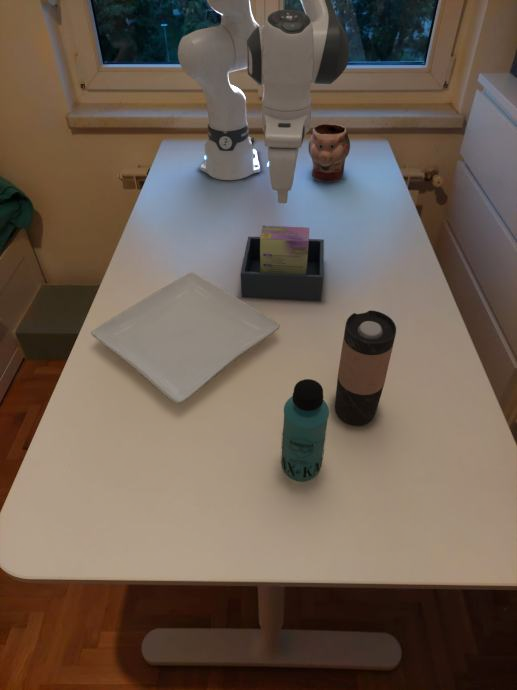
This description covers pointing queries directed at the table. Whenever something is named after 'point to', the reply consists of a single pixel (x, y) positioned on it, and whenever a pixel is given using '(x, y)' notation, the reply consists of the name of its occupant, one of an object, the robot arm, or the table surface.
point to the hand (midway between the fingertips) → (284, 189)
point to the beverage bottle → (304, 431)
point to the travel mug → (363, 366)
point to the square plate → (185, 334)
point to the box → (284, 249)
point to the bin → (282, 276)
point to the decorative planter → (328, 151)
